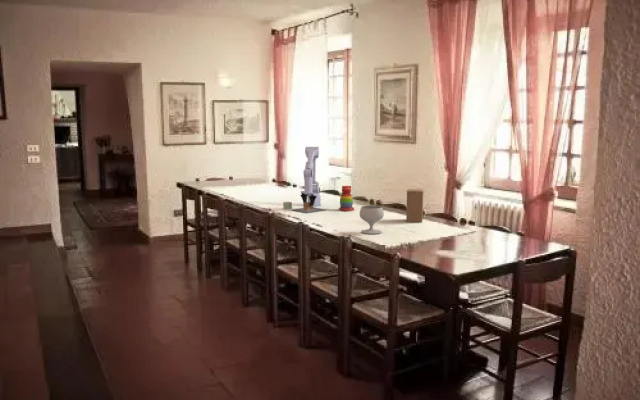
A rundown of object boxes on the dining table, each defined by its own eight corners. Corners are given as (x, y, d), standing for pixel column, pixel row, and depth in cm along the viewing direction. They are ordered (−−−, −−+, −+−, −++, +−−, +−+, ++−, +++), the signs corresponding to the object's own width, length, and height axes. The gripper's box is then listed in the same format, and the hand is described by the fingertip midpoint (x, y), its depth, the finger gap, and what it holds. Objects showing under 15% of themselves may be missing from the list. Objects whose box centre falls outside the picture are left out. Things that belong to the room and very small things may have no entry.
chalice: (362, 235, 318) (363, 209, 316) (356, 230, 332) (356, 205, 330) (386, 234, 321) (387, 208, 319) (379, 229, 335) (379, 204, 332)
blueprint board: (310, 207, 412) (310, 206, 412) (325, 210, 401) (325, 209, 401) (291, 210, 400) (291, 209, 400) (306, 213, 389) (306, 212, 389)
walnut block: (308, 208, 404) (308, 201, 403) (313, 209, 400) (313, 202, 399) (303, 209, 401) (303, 202, 400) (307, 210, 397) (307, 203, 396)
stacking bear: (354, 209, 405) (354, 184, 402) (353, 211, 395) (353, 186, 392) (339, 209, 406) (339, 184, 403) (338, 211, 396) (338, 186, 393)
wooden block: (422, 222, 355) (423, 191, 352) (406, 222, 357) (406, 190, 354) (422, 219, 365) (423, 189, 361) (407, 219, 367) (407, 188, 363)
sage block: (288, 208, 410) (288, 201, 409) (291, 209, 407) (291, 202, 406) (283, 209, 407) (283, 202, 406) (287, 209, 404) (287, 202, 403)
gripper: (297, 185, 401) (297, 204, 403) (310, 187, 390) (311, 206, 392) (305, 184, 405) (305, 203, 407) (318, 186, 395) (318, 205, 397)
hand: (308, 204), depth 400 cm, fingers open, 7 cm apart
